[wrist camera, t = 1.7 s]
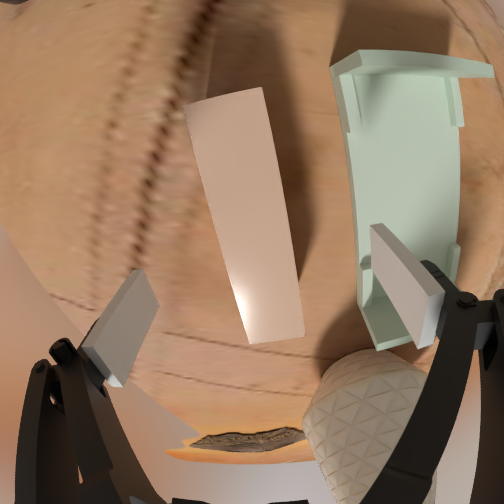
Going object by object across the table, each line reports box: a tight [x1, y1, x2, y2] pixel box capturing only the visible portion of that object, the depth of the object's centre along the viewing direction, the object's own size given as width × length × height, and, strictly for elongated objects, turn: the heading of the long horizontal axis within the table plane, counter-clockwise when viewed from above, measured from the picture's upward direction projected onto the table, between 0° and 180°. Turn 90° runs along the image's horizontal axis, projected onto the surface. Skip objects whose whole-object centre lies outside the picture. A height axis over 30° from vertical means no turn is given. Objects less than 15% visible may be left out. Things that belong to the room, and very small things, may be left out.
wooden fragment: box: [190, 427, 307, 452], centre depth 45 cm, size 26×11×1 cm, turn 106°
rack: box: [329, 50, 495, 351], centre depth 19 cm, size 23×12×7 cm, turn 13°
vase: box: [302, 348, 437, 504], centre depth 24 cm, size 17×17×23 cm
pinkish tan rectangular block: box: [183, 87, 305, 344], centre depth 21 cm, size 18×4×7 cm, turn 12°
